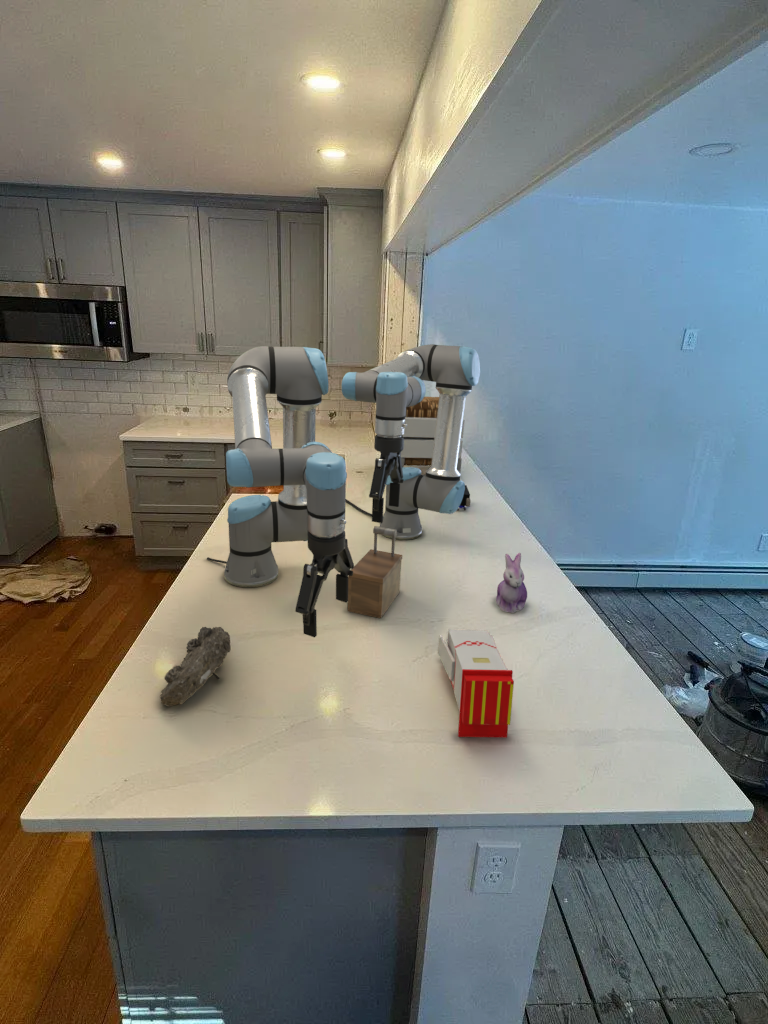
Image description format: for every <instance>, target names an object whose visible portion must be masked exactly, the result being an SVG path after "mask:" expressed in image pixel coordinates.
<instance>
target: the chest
mask: <svg viewBox="0 0 768 1024" xmlns="http://www.w3.org/2000/svg"><path fill="white" fill-rule="evenodd" d="M401 572H402V560H401V561H400V562H399V563H398V565H397V566H396V567H395V568H394V570H393V571H392V572H391V573H390V575H389V576H388V577H387V579H386V580H385V581H384V582H383V583H379V582H374V581H369V580H364V579H359V578H354V577H349V576H348V602H347V612H349V613H355V614H359V615H364V616H368V617H371V618H372V617H373V618H378V619H382V618H383V616H384V615H385V613H387V611H388V610H389V608H390V607H391V605H392V604H393V602H394V601H395V600H396V598H397V597H398V595H399V594H400V591H401V590H400V589H401V576H402V575H401V574H402V573H401Z"/></svg>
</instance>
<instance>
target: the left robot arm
mask: <svg viewBox="0 0 768 1024" xmlns="http://www.w3.org/2000/svg"><path fill="white" fill-rule="evenodd" d="M226 379H227V380H226V382H227V383H226V384H227V391H228V393H229V396H231V398H232V415H233V430H234V431H233V432H234V434H233V435H234V449H228V450H227V451H226V452H225V463H226V464H225V465H226V480H227V481H226V482H227V484H228V485H229V486H231V487H235V488H236V487H237V488H238V487H239V488H240V487H241V488H260V487H279V486H283V490H282V491H280V492H279V493H278V496H277V501H275V500H274V501H272V500H271V498H270V497H269V496H268V495H264V494H262V495H261V494H251V495H246V496H243V497H239V498H237V499H235V500H234V501H232V502H231V503H230V504H229V505H228V507H227V523H228V544H229V553H228V557H227V561H225V560H221V559H214V558H211V557H206V560H208V561H211V562H214V563H220V564H225V567H224V572H223V573H224V575H223V576H224V580H225V581H226V582H227V583H228V584H230V585H232V586H235V587H239V588H257V587H263V586H266V585H270V584H271V583H273V582H274V581H276V580H277V579H278V577H279V566H278V564H277V562H276V558H275V555H274V553H273V550H272V544H273V543H288V542H307V548H308V550H309V551H310V552H311V554H312V555H313V556H312V560H311V563H310V564H309V563H304V565H303V569H302V570H303V573H302V579H301V582H300V583H301V584H300V587H299V592H298V596H297V600H296V605H295V610H294V612H295V613H297V614H300V615H302V628H303V630H302V631H303V632H302V633H303V635H306V636H309V637H312V638H316V637H317V636H318V633H317V632H318V630H317V629H318V628H317V622H318V621H317V620H318V619H317V609H315V607H316V604H317V602H318V599H319V595H320V593H321V590H322V588H323V584H324V582H325V581H327V579H328V577H329V574H330V572H331V571H332V570H336V571H337V573H336V575H335V600H337V601H340V602H343V603H346V604H348V577H349V576H352V575H353V571H351V569H353V568H354V566H355V563H354V561H353V557H352V554H351V551H350V548H349V542H348V538H346V531H345V530H346V525H347V520H346V502H345V501H346V499H347V497H346V496H347V493H346V492H347V478H348V472H347V464H346V460H345V458H344V457H343V456H341V455H339V454H338V453H335V452H333V451H332V450H331V449H330V448H329V447H328V446H327V445H326V444H325V443H323V442H320V441H316V419H317V418H316V416H317V411H316V410H317V407H318V406H319V405H321V404H322V402H323V396H325V395H327V394H328V393H329V375H328V367H327V363H326V359H325V355H324V354H323V352H322V350H321V349H319V348H315V347H309V346H308V347H307V346H268V345H261V346H256V347H253V348H250V349H248V350H247V351H245V352H243V353H242V354H240V356H238V358H236V360H235V361H234V362H233V363H232V365H231V367H229V371H228V373H227V377H226ZM267 395H276V402H277V403H278V404H279V405H280V406H281V407H282V437H283V438H282V448H273V445H272V443H273V442H272V437H271V430H270V429H271V428H270V419H269V414H268V412H269V411H268V404H267V397H266V396H267ZM320 574H321V575H320ZM348 575H349V576H348Z"/></svg>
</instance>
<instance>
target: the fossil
mask: <svg viewBox="0 0 768 1024" xmlns="http://www.w3.org/2000/svg"><path fill="white" fill-rule="evenodd" d="M231 648H232V647H231V635H230V633H229V631H225V630H224V628H223V627H222V626H215V627H214V626H213V627H212V628H211V627H207V626H202V627H200V629H199V631H198V633H197V637H195V638H191V639H189V640H188V641H187V643H186V654H185V656H184V657H183V660H182V661H181V663H180V665H178V664H177V665H174V666H173V667H172V668H171V669H170V670H168V672H166V673H165V675H164V678H163V679H164V681H165V682H166V683H167V684H166V685H165V687H164V688H162V689H161V690H160V694H159V700H160V703H161V705H165V706H167V707H173V706H178V705H183V704H184V703H185V702H186V701H187V700H188V699H190V697H192V696H193V695H194V694H195V693H196V692H197V691H199V690H200V689H201V688H202V687H203V686H204V685H205V684H206V682H207V681H208V679H209V678H210V677H212V675H213V677H215V678H216V680H220V679H221V677H219V675H218V674H216V672H215V671H216V669H217V668H220V667H221V666H222V665H223V663H224V661H225V658H226V657H227V655H228V654H229V653H230V652H231Z"/></svg>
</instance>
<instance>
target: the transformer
mask: <svg viewBox="0 0 768 1024" xmlns="http://www.w3.org/2000/svg"><path fill="white" fill-rule="evenodd" d="M438 403H439V396H424V398H423V400H422V401H421V402H419V403H418V404H416V405H413V406H409V407H406V414H405V423H406V424H407V427H405V429H404V434H403V435H402V436H403V437H404V449H403V451H401V462H402V468H403V467H405V466H406V467H417V466H418V467H431V463H432V455H433V446H434V438H435V429H436V420H437V412H438ZM464 429H465V419H464V418H463V424H462V432H461V440H460V448H459V455H458V463H457V470H458V472H459V473H460V474H461V472H462V461H463V460H462V453H463V442H464V441H463V440H462V439H463V438H464V431H465V430H464ZM461 475H462V474H461Z"/></svg>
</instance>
